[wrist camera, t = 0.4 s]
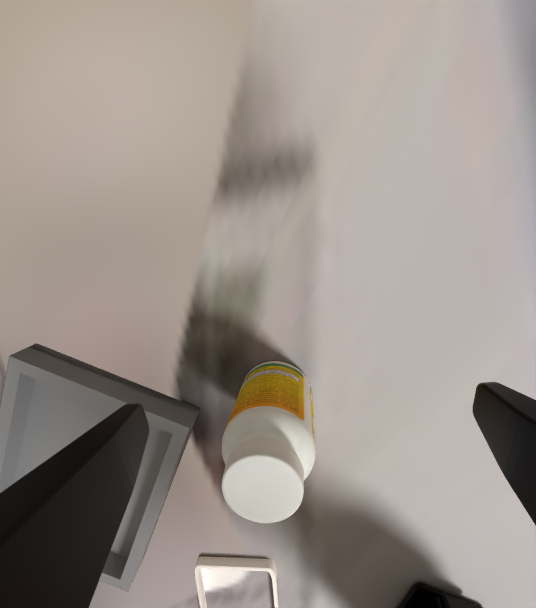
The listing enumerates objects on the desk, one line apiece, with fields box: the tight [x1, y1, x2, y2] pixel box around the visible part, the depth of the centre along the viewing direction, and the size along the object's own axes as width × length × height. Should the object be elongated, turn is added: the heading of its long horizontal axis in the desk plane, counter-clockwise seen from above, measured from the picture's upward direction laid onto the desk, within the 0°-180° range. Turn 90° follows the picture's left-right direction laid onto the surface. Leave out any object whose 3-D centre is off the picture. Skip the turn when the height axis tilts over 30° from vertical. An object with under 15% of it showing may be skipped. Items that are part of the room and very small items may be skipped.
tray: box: [0, 344, 200, 591], centre depth 27 cm, size 18×14×2 cm
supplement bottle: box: [222, 361, 316, 523], centre depth 20 cm, size 5×5×10 cm
